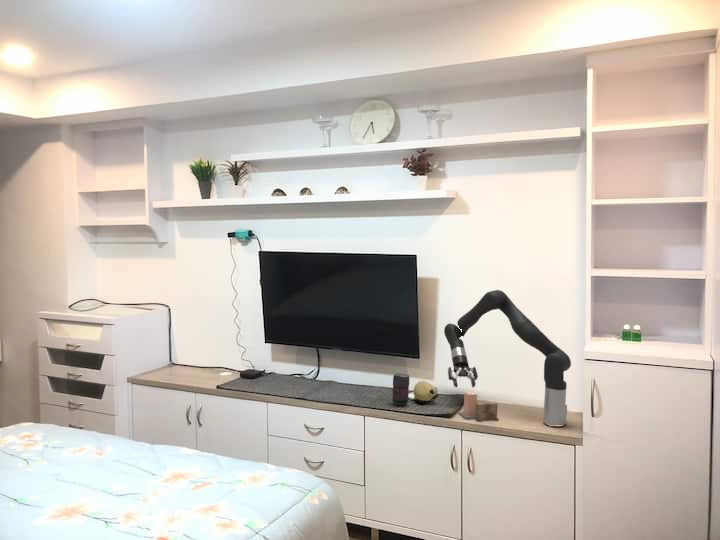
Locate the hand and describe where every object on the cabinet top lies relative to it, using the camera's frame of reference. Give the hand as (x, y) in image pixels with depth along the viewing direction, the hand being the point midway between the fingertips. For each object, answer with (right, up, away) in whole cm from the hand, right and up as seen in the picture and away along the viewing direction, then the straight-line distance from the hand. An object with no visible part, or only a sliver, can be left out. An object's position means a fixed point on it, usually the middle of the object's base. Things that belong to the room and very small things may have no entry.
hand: (465, 386), depth 290 cm
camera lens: (-32, -10, +3) cm, 33 cm away
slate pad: (0, -12, -11) cm, 16 cm away
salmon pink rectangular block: (0, -11, -11) cm, 15 cm away
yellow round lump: (-19, -10, +9) cm, 23 cm away
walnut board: (+7, -12, -15) cm, 21 cm away
